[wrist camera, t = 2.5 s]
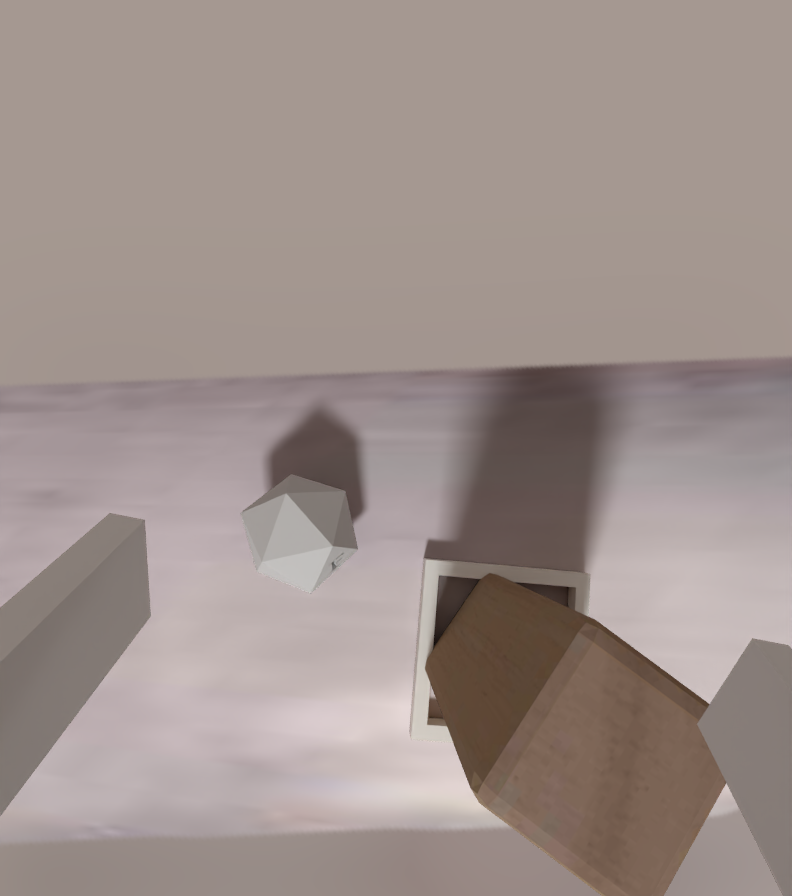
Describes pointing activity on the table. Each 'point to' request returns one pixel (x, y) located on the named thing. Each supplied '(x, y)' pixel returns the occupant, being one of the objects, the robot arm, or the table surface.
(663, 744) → the wooden block
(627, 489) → the table surface
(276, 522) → the die
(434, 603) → the base frame
